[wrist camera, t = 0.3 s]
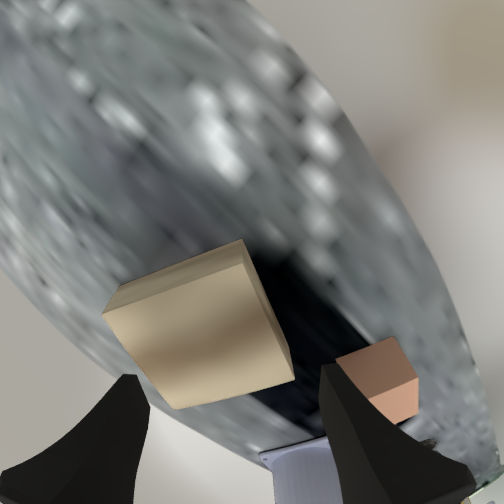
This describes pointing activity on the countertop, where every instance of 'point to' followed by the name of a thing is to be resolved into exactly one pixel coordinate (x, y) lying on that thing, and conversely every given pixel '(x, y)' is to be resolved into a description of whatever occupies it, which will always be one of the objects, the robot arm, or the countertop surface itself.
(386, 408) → the terracotta cube
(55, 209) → the countertop surface
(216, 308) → the birch base
